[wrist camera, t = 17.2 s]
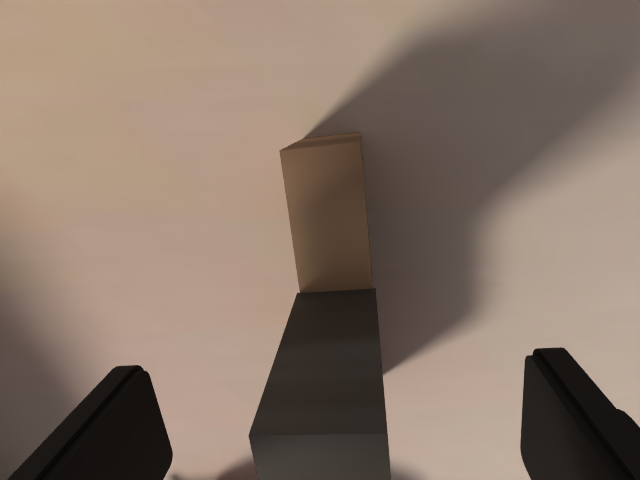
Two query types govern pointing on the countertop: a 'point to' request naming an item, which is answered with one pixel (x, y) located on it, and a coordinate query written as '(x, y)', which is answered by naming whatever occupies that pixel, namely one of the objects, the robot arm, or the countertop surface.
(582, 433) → the robot arm
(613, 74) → the countertop surface
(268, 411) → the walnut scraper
